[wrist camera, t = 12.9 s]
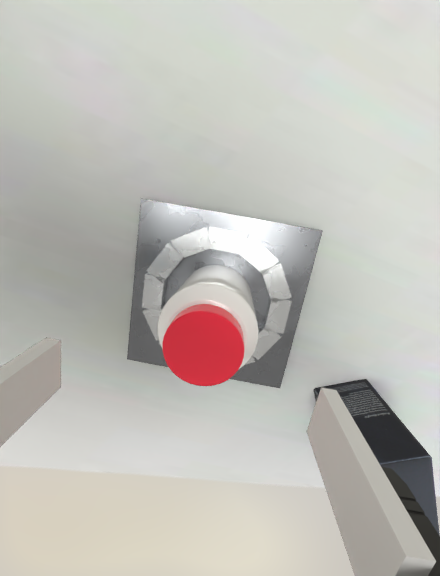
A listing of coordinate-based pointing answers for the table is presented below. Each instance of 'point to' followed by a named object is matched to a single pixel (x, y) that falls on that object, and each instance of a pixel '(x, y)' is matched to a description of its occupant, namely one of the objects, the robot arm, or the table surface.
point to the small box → (390, 442)
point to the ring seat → (228, 252)
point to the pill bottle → (209, 326)
